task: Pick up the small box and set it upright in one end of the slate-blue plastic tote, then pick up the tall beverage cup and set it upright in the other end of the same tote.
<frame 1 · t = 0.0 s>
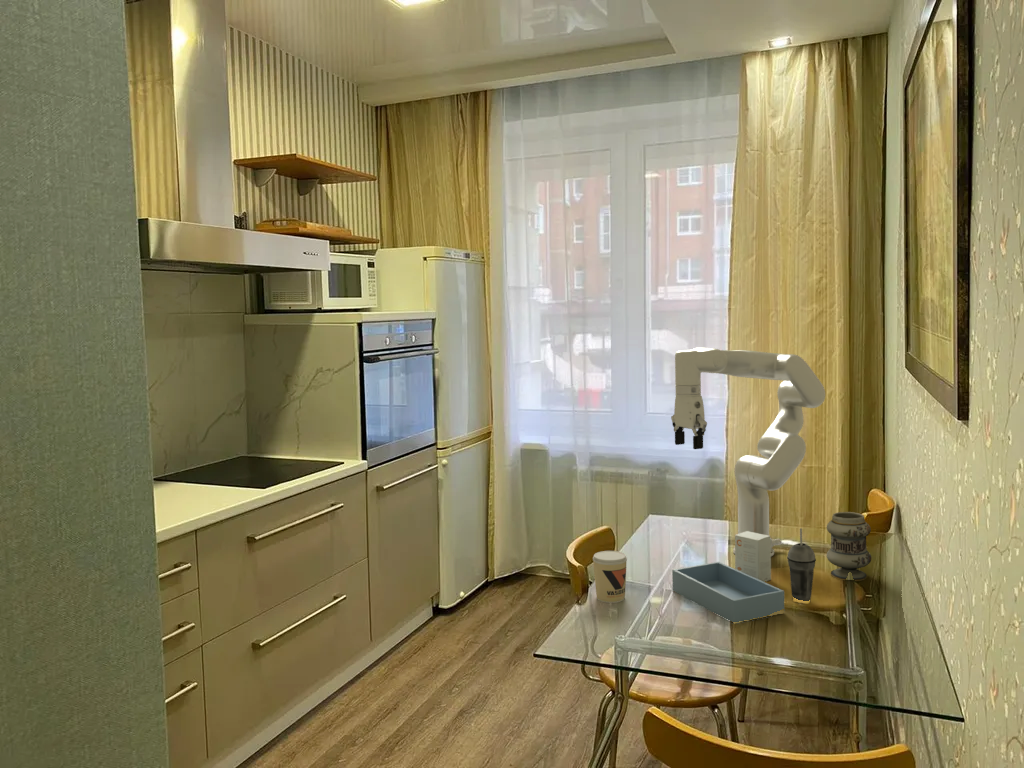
hand: (688, 446, 248), 37 cm above the table, tool pointing down, fingers open, 9 cm apart
cream lidded tub: (610, 598, 224), on the table
small box: (753, 579, 235), on the table
tote: (725, 601, 218), on the table
apothecary jar: (848, 576, 236), on the table
beverage cup: (801, 601, 217), on the table
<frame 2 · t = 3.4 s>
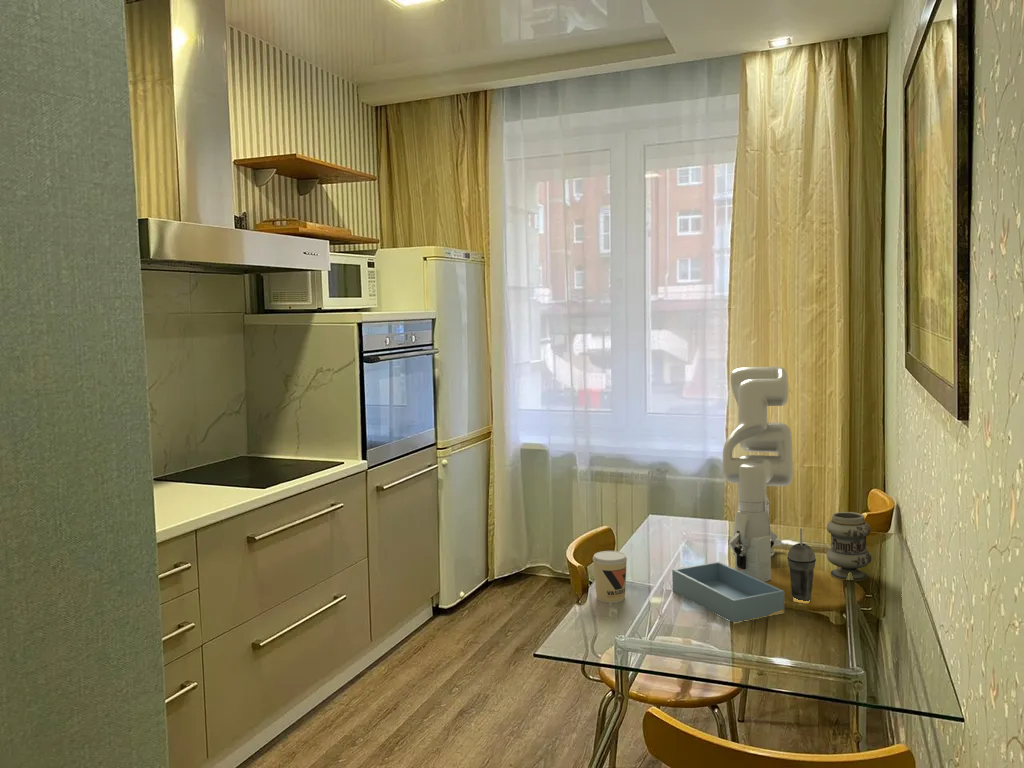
hand: (753, 565, 235), 4 cm above the table, tool pointing down, fingers closed on small box, 7 cm apart
small box: (753, 579, 235), on the table, touching gripper
everything else where it was.
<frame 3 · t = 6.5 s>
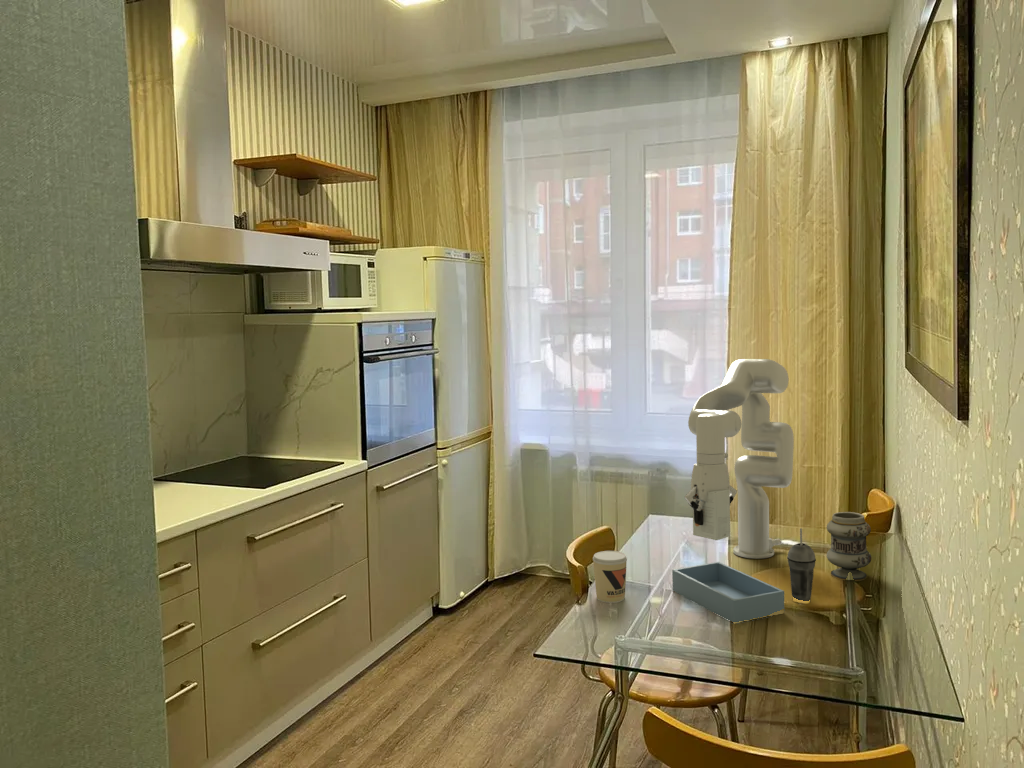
hand: (711, 521, 223), 20 cm above the table, tool pointing down, fingers closed on small box, 7 cm apart
small box: (711, 536, 223), point 16 cm above the table, touching gripper
everything else where it was.
when the fingers open (6 cm above the table, at t = 9.8 s): small box drops 1 cm, resting on tote.
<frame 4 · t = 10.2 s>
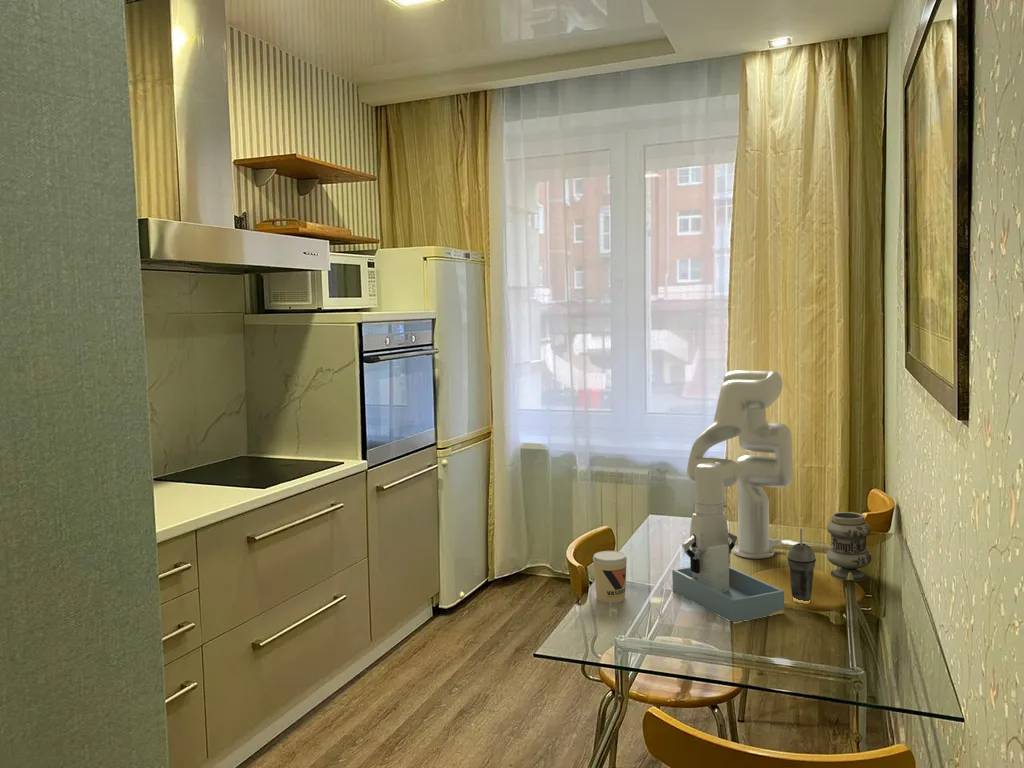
hand: (710, 569, 224), 7 cm above the table, tool pointing down, fingers open, 9 cm apart
small box: (710, 590, 225), point 1 cm above the table, touching tote
everything else where it was.
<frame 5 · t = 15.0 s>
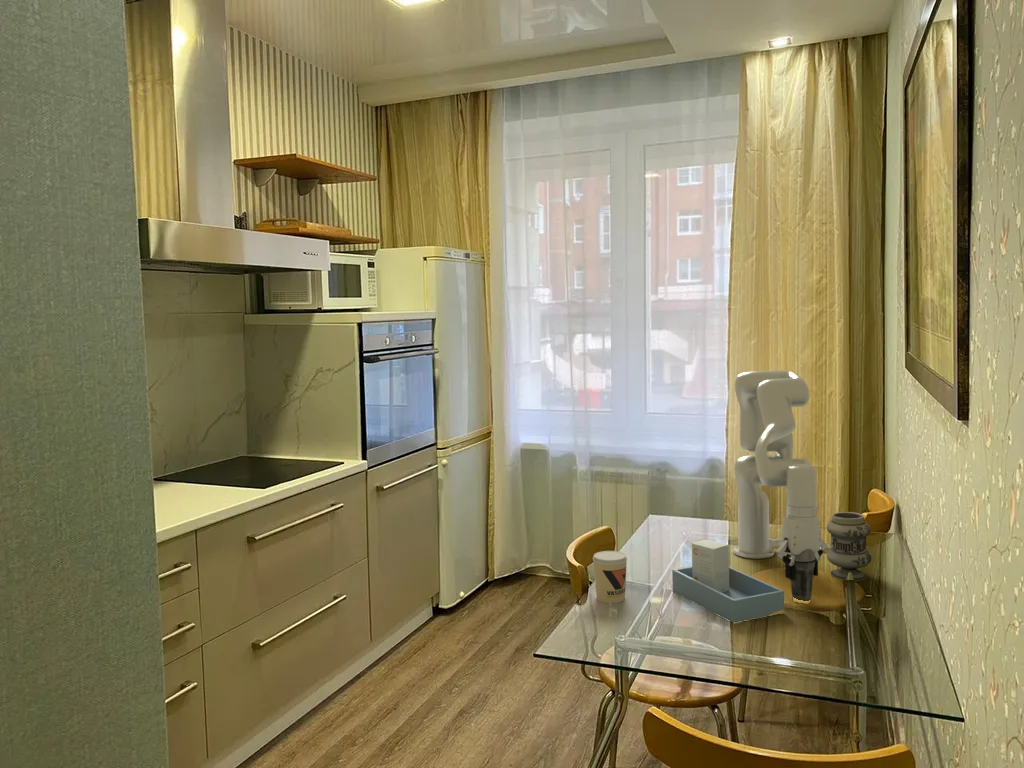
hand: (801, 576, 216), 7 cm above the table, tool pointing down, fingers closed on beverage cup, 6 cm apart
beverage cup: (801, 601, 217), on the table, touching gripper
everything else where it was.
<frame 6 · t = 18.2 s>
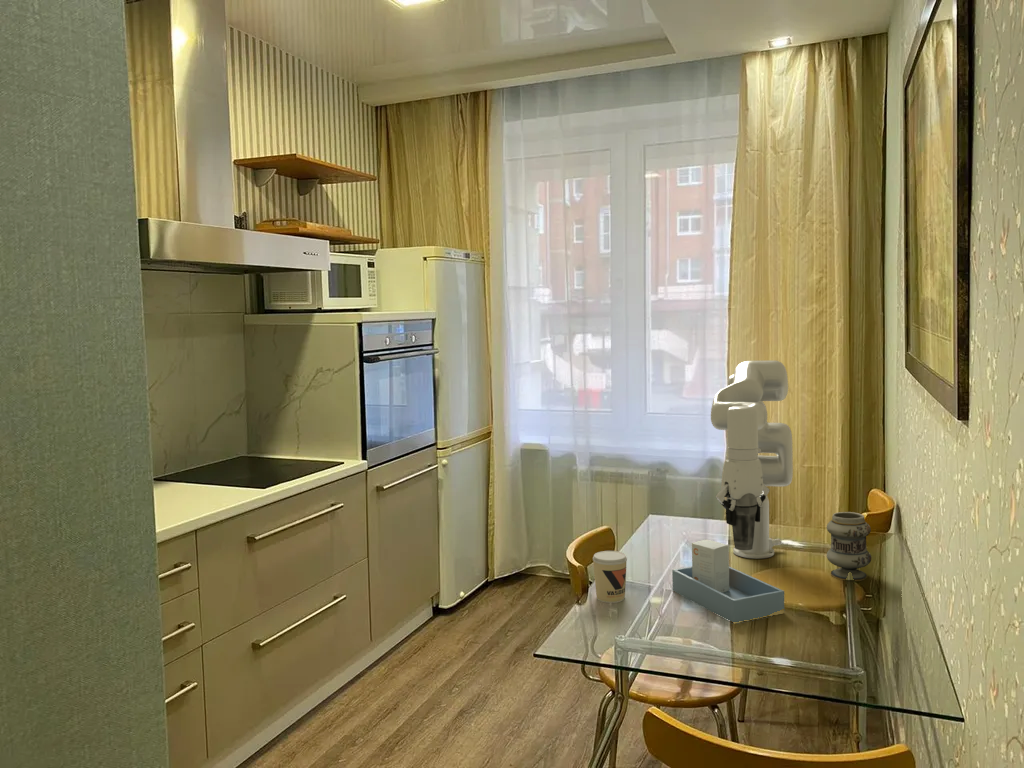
hand: (743, 522, 209), 23 cm above the table, tool pointing down, fingers closed on beverage cup, 6 cm apart
beverage cup: (743, 548, 210), point 16 cm above the table, touching gripper
everything else where it was.
when the fingers open (9 cm above the table, at t = 21.3 s): beverage cup drops 2 cm, resting on tote.
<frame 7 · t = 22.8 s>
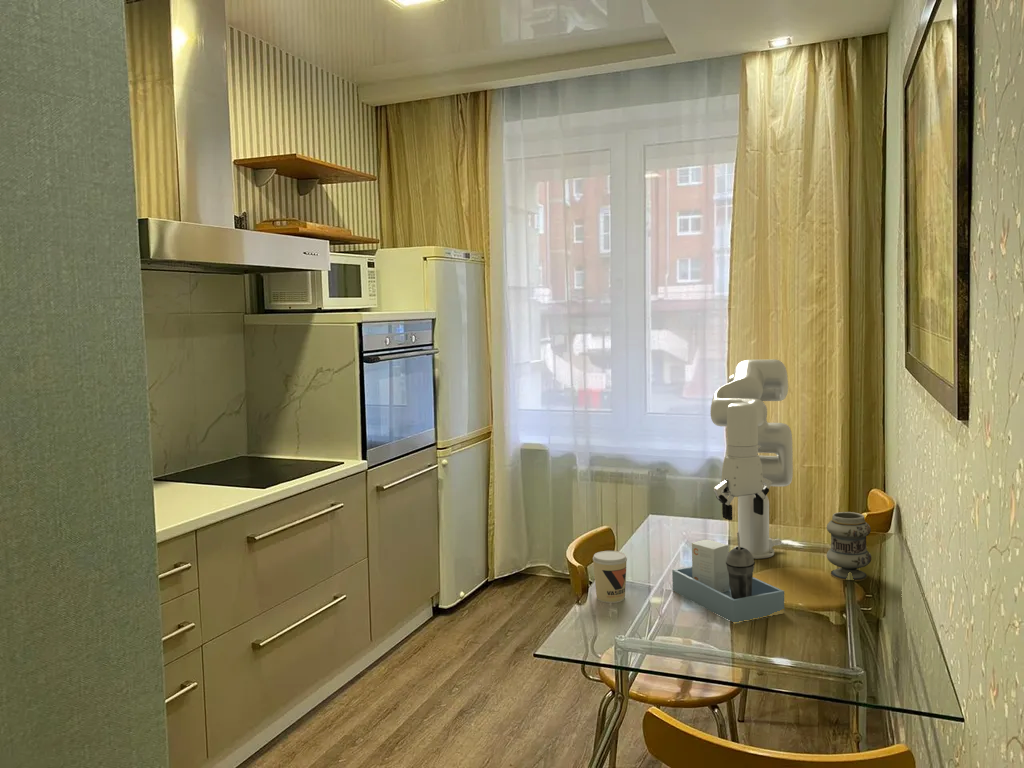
hand: (743, 516, 209), 25 cm above the table, tool pointing down, fingers open, 9 cm apart
beverage cup: (741, 606, 212), point 1 cm above the table, touching tote
everything else where it was.
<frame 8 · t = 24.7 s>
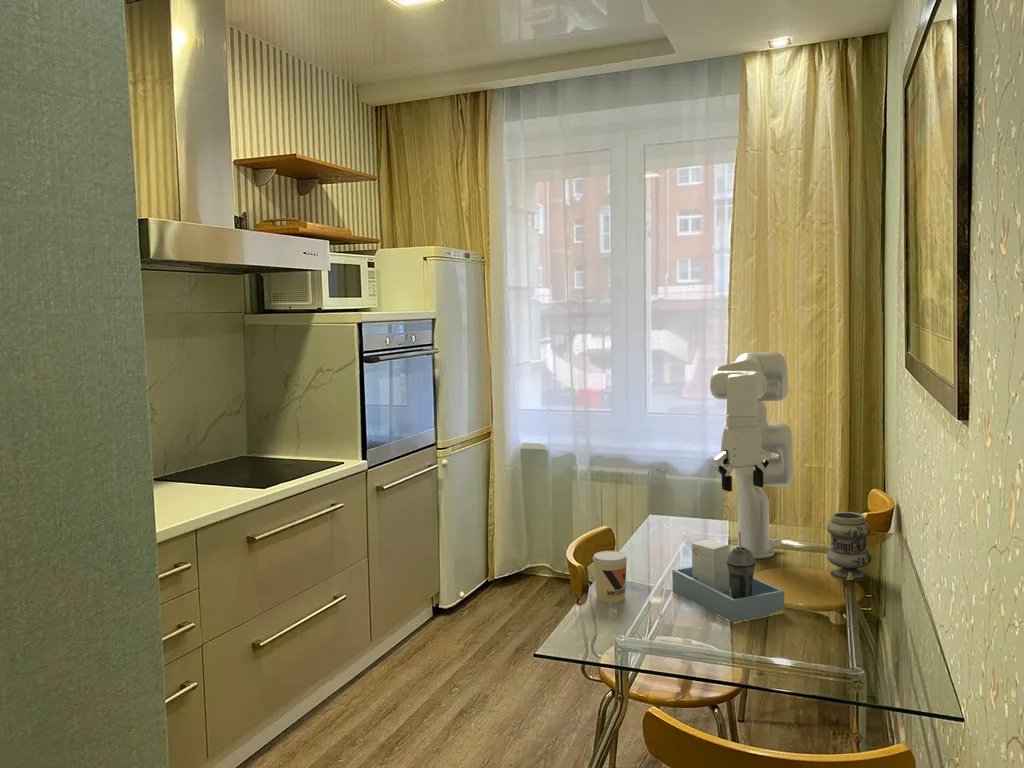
hand: (742, 488, 208), 32 cm above the table, tool pointing down, fingers open, 9 cm apart
nothing on the table moved.
at the end: small box inside the target area on the tote (7.1 cm from its centre), point 0.8 cm above the tote's base; beverage cup inside the target area on the tote (6.8 cm from its centre), point 0.8 cm above the tote's base; beverage cup tilted 1° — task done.
